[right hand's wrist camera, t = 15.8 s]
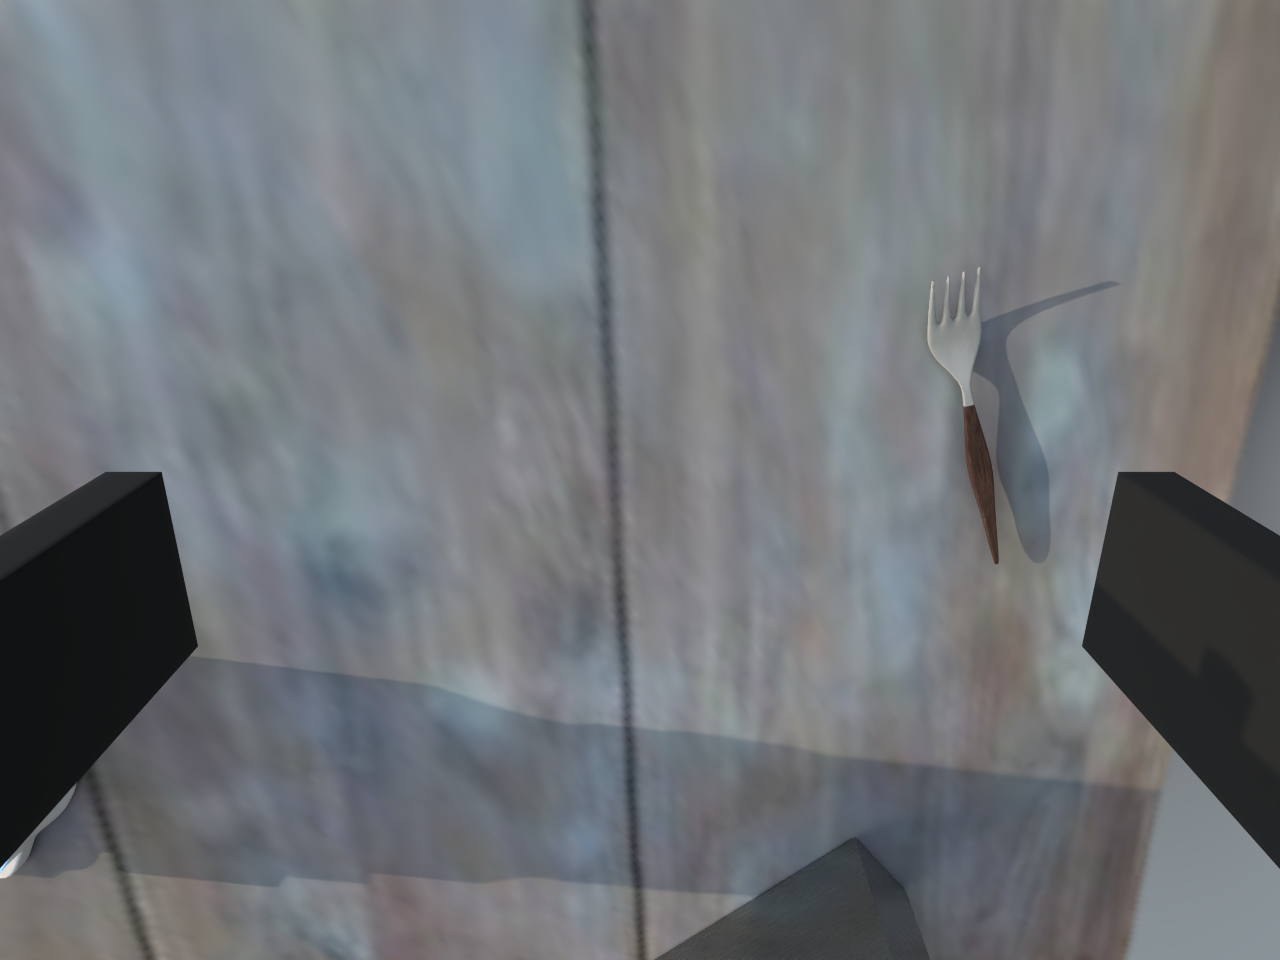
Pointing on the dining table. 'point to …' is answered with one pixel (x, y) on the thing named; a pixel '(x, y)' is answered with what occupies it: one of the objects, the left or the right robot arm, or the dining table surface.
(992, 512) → the fork
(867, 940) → the bar
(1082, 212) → the dining table surface
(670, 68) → the dining table surface
